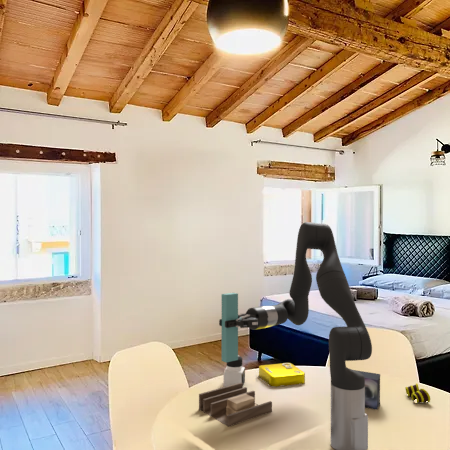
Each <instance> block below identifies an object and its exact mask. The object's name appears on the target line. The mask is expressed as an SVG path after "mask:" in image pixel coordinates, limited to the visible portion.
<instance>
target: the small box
mask: <svg viewBox="0 0 450 450" xmlns="http://www.w3.org/2000/svg"><path fill="white" fill-rule="evenodd" d="M354 370H355V371H357V372H359V373H361V374H362V375H363V376H364V378H365V409H372V410H379V408H380V406H381V373H376V372H375V373H374V372H369V371H362V370H361V371H360V370H356V369H354Z"/></svg>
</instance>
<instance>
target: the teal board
mask: <svg viewBox="0 0 450 450" xmlns="http://www.w3.org/2000/svg"><path fill="white" fill-rule="evenodd" d="M238 315H239V293H238V292H237V293H236V292H230V293H221V319H222V326H221V362H224V363H226V364H227V362H231V361H235V360H238V356H239V327H230V328H226V327H225V321H228V320H235V319H238Z"/></svg>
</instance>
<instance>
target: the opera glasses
mask: <svg viewBox="0 0 450 450" xmlns="http://www.w3.org/2000/svg"><path fill="white" fill-rule="evenodd" d="M405 393H406V395H407V394H408V396H410V397H411V400H412V401H413V400H415V399H417V403H418V402H423V403H425V402H426V401H428V402H429V403H431V396H430V393H429V392H428V391H427V390H426V389H425V388H420V387H419V384H418V382H415V384H414V385H413V384H412V385H410V386H406V387H405ZM408 396H407V397H408ZM418 404H419V403H418Z"/></svg>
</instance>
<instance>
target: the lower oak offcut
mask: <svg viewBox="0 0 450 450" xmlns="http://www.w3.org/2000/svg"><path fill="white" fill-rule="evenodd" d="M255 406H257V403H256V404H255ZM253 407H254V406H253ZM250 408H251V407H250ZM247 409H248V408H247ZM244 410H245V409H244ZM240 411H242V410H240ZM237 412H239V411H237ZM233 413H236V411H234V410H232V409H230V408H228V407H226V415H230V414H233Z"/></svg>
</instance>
